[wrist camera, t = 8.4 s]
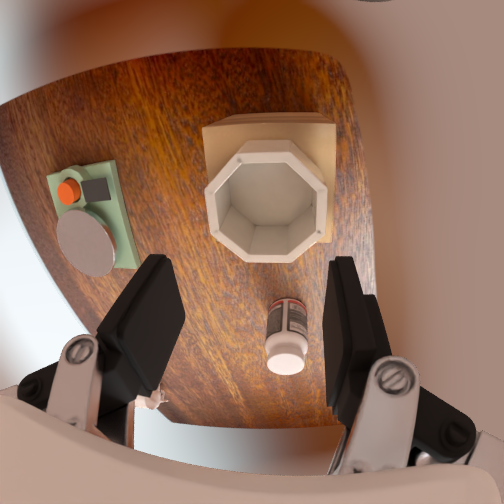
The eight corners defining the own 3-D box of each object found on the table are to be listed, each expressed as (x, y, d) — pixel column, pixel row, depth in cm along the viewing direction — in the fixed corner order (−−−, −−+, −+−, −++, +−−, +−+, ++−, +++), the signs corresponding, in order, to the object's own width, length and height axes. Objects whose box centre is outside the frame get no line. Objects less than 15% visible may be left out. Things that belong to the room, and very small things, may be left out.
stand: (233, 114, 28) (201, 127, 18) (318, 112, 27) (336, 123, 17) (240, 191, 33) (216, 242, 23) (318, 190, 31) (331, 242, 21)
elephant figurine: (153, 393, 63) (142, 421, 55) (121, 365, 58) (106, 394, 50) (180, 391, 60) (170, 422, 52) (147, 361, 55) (132, 394, 47)
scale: (51, 169, 34) (38, 176, 31) (114, 155, 32) (101, 161, 29) (80, 261, 42) (70, 271, 40) (141, 263, 40) (132, 275, 38)
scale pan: (45, 188, 32) (41, 190, 31) (106, 177, 30) (101, 179, 29) (74, 271, 40) (71, 275, 39) (133, 275, 38) (130, 279, 37)
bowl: (218, 141, 18) (199, 155, 14) (319, 138, 17) (328, 152, 14) (228, 229, 22) (214, 262, 18) (318, 229, 21) (323, 263, 17)
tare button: (62, 179, 31) (54, 184, 30) (78, 176, 31) (70, 181, 30) (68, 201, 33) (60, 206, 32) (83, 199, 33) (76, 204, 31)
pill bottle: (272, 326, 44) (267, 378, 35) (264, 299, 41) (257, 353, 32) (309, 322, 42) (310, 375, 34) (304, 294, 39) (305, 349, 31)
